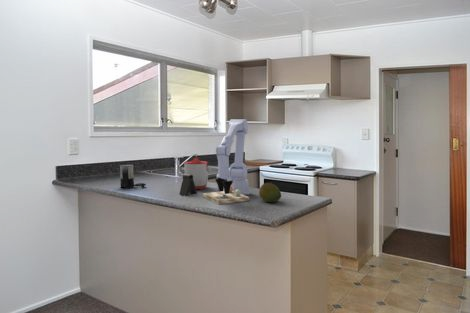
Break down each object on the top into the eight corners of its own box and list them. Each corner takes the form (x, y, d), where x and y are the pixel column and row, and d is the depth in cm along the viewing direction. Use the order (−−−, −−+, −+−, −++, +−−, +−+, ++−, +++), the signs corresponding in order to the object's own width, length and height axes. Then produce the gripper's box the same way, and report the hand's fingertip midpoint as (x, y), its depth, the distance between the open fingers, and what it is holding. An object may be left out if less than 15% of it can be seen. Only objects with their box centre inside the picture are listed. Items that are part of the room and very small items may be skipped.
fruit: (267, 198, 205) (267, 180, 204) (286, 201, 197) (286, 182, 196) (254, 202, 196) (254, 183, 195) (274, 205, 188) (274, 185, 187)
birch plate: (231, 193, 220) (231, 190, 220) (248, 200, 200) (248, 197, 200) (203, 196, 212) (203, 193, 212) (218, 204, 192) (218, 200, 192)
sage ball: (239, 194, 206) (239, 188, 206) (242, 196, 203) (242, 189, 203) (233, 195, 204) (233, 189, 204) (236, 196, 201) (236, 190, 201)
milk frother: (119, 186, 250) (118, 165, 249) (142, 184, 257) (142, 163, 255) (122, 190, 237) (121, 167, 236) (147, 188, 244) (146, 165, 242)
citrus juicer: (210, 190, 232) (209, 158, 230) (182, 190, 233) (182, 158, 231) (212, 185, 248) (211, 156, 246) (186, 186, 248) (185, 156, 246)
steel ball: (225, 199, 203) (225, 193, 202) (228, 201, 199) (228, 195, 199) (219, 200, 201) (219, 194, 201) (222, 202, 198) (222, 195, 198)
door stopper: (185, 196, 215) (185, 175, 214) (179, 194, 219) (178, 174, 218) (197, 193, 222) (196, 173, 221) (190, 192, 226) (190, 173, 225)
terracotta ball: (231, 191, 216) (231, 185, 216) (233, 192, 213) (233, 186, 212) (225, 192, 214) (225, 186, 214) (228, 193, 211) (228, 187, 211)
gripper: (211, 166, 203) (212, 190, 205) (222, 169, 190) (222, 195, 192) (223, 165, 206) (223, 189, 208) (234, 168, 193) (234, 194, 195)
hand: (224, 192), depth 200 cm, fingers open, 7 cm apart
